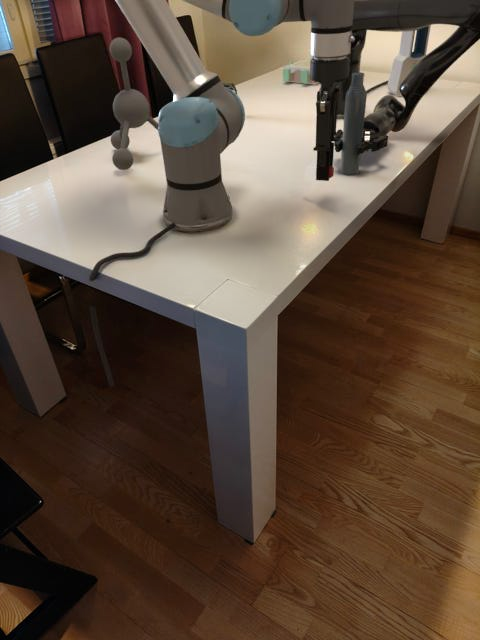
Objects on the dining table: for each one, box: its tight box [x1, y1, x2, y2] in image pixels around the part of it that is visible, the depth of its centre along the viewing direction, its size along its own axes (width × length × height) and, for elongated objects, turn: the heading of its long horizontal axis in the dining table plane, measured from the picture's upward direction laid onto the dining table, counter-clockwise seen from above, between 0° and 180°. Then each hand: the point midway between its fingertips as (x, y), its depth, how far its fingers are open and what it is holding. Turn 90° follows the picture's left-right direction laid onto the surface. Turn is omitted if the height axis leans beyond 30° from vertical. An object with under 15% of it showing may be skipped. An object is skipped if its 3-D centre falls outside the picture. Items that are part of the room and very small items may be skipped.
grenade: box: [222, 82, 238, 95], centre depth 166 cm, size 7×6×10 cm
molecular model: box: [109, 37, 159, 171], centre depth 131 cm, size 24×22×30 cm
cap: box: [329, 165, 335, 179], centre depth 106 cm, size 4×4×2 cm
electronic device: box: [387, 25, 432, 97], centre depth 173 cm, size 12×8×30 cm, turn 105°
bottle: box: [339, 72, 368, 176], centre depth 117 cm, size 5×5×23 cm
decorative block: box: [282, 57, 320, 85], centre depth 205 cm, size 26×6×20 cm
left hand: (324, 175), depth 107 cm, fingers closed on cap, 4 cm apart
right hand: (347, 149), depth 119 cm, fingers closed on bottle, 4 cm apart
